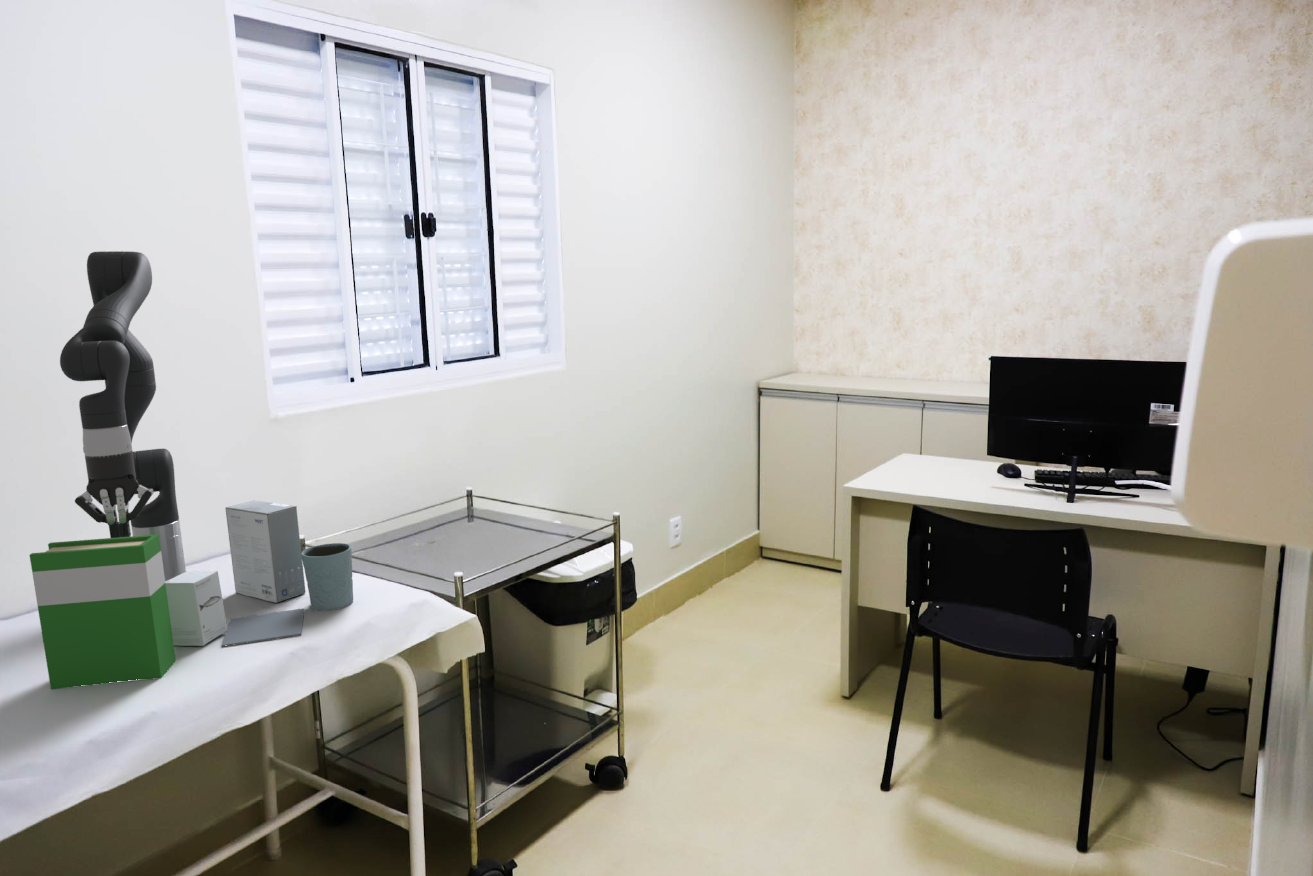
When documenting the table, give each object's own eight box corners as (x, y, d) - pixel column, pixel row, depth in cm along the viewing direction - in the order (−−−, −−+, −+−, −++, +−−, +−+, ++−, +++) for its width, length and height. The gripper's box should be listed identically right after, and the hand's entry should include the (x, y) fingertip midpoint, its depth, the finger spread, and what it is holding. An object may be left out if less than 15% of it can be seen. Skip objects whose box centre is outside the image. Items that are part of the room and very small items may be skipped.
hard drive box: (307, 593, 200) (298, 505, 197) (276, 604, 194) (266, 514, 191) (264, 583, 209) (254, 499, 205) (233, 593, 202) (223, 506, 199)
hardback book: (50, 689, 155) (29, 554, 151) (70, 671, 163) (50, 542, 159) (161, 678, 158) (143, 545, 154) (175, 661, 166) (158, 534, 161)
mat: (230, 620, 185) (230, 618, 185) (303, 610, 190) (303, 608, 190) (222, 647, 171) (221, 645, 171) (301, 635, 176) (300, 633, 176)
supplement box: (204, 646, 171) (192, 583, 169) (170, 646, 173) (158, 583, 170) (229, 631, 178) (218, 569, 176) (196, 630, 180) (185, 570, 178)
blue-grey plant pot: (328, 614, 187) (323, 558, 185) (296, 607, 192) (290, 553, 190) (366, 599, 195) (361, 545, 193) (334, 592, 200) (329, 540, 198)
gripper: (153, 444, 171) (165, 533, 174) (72, 450, 167) (85, 541, 170) (145, 450, 164) (157, 543, 167) (60, 457, 160) (75, 552, 163)
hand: (121, 542), depth 168 cm, fingers closed
